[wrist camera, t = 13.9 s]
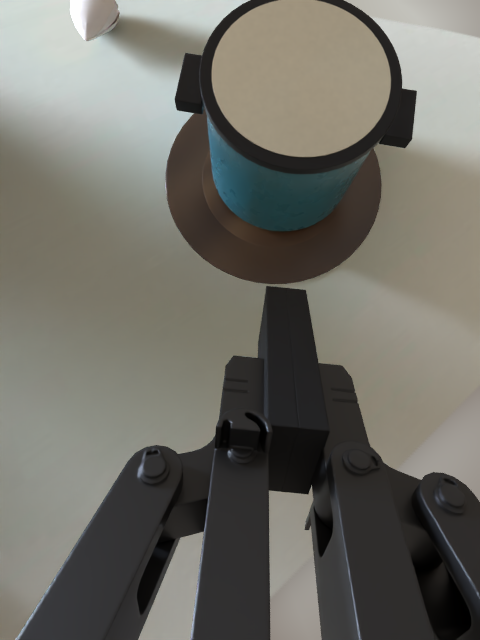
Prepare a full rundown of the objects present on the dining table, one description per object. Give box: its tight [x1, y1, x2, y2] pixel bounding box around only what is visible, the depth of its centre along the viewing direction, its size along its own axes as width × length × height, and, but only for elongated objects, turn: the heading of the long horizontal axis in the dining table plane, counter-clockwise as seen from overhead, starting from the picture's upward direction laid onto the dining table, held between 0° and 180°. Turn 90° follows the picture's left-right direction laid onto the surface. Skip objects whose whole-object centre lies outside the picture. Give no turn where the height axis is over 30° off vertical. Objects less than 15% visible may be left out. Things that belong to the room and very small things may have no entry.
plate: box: [166, 108, 381, 284], centre depth 33 cm, size 19×19×1 cm
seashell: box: [70, 0, 120, 41], centre depth 34 cm, size 4×5×2 cm
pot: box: [175, 0, 417, 231], centre depth 28 cm, size 12×16×10 cm
